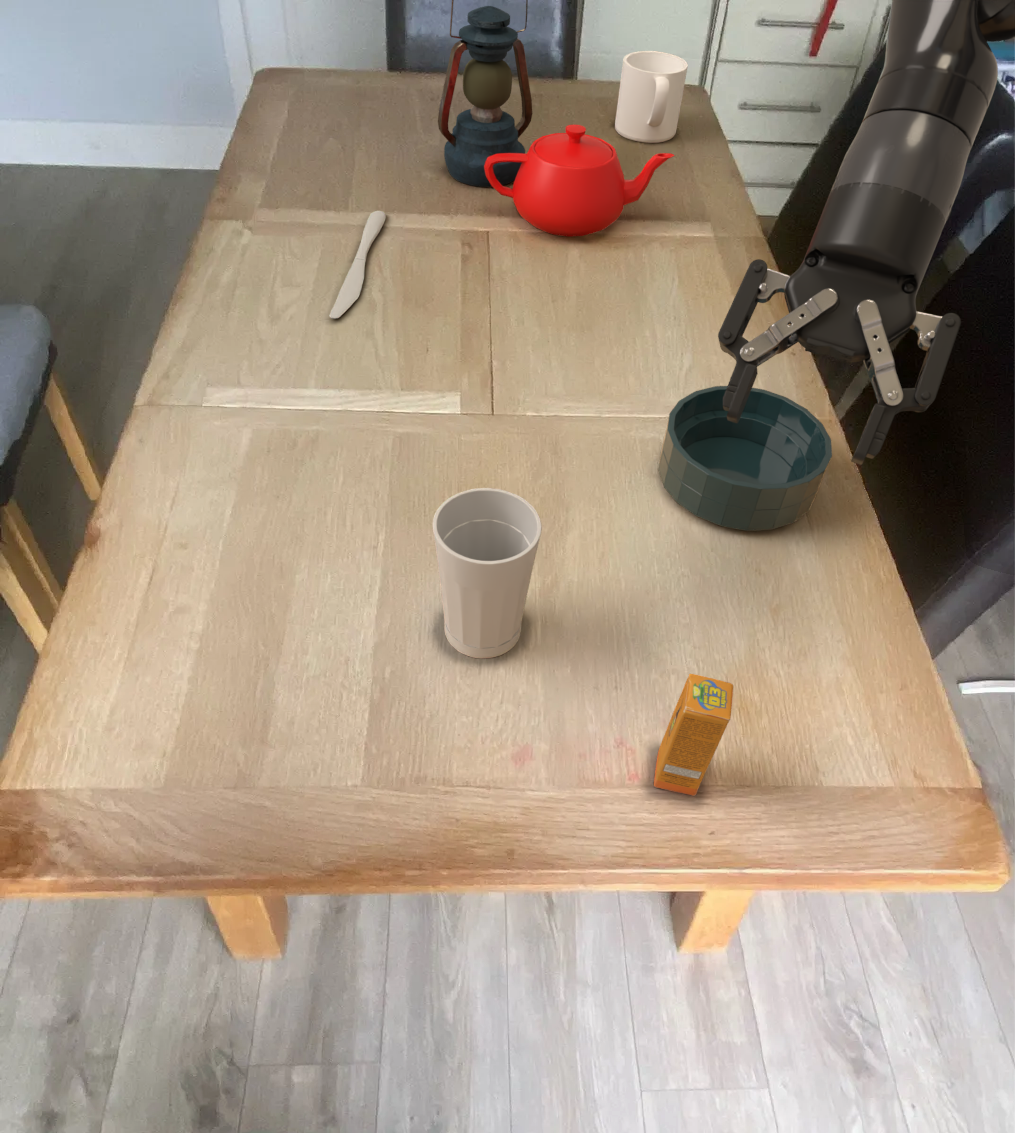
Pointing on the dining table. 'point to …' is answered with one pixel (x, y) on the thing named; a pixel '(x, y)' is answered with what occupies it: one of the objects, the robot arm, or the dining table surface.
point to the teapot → (571, 182)
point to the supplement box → (693, 734)
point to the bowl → (744, 459)
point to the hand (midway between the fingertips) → (793, 440)
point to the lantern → (485, 98)
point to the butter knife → (358, 266)
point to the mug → (650, 96)
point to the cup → (485, 567)
